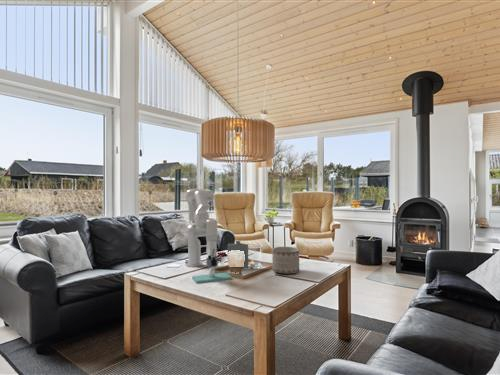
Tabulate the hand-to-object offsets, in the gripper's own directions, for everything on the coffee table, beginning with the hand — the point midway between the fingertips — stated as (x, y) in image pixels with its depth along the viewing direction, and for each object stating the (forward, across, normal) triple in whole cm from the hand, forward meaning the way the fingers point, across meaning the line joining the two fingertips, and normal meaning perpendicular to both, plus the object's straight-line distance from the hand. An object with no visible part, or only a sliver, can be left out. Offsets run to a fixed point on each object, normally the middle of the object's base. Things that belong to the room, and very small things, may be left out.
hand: (212, 264), depth 216 cm
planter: (+10, +4, +54) cm, 55 cm away
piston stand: (+10, 0, 0) cm, 10 cm away
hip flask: (+10, -24, +27) cm, 37 cm away
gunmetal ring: (+1, 0, 0) cm, 1 cm away
